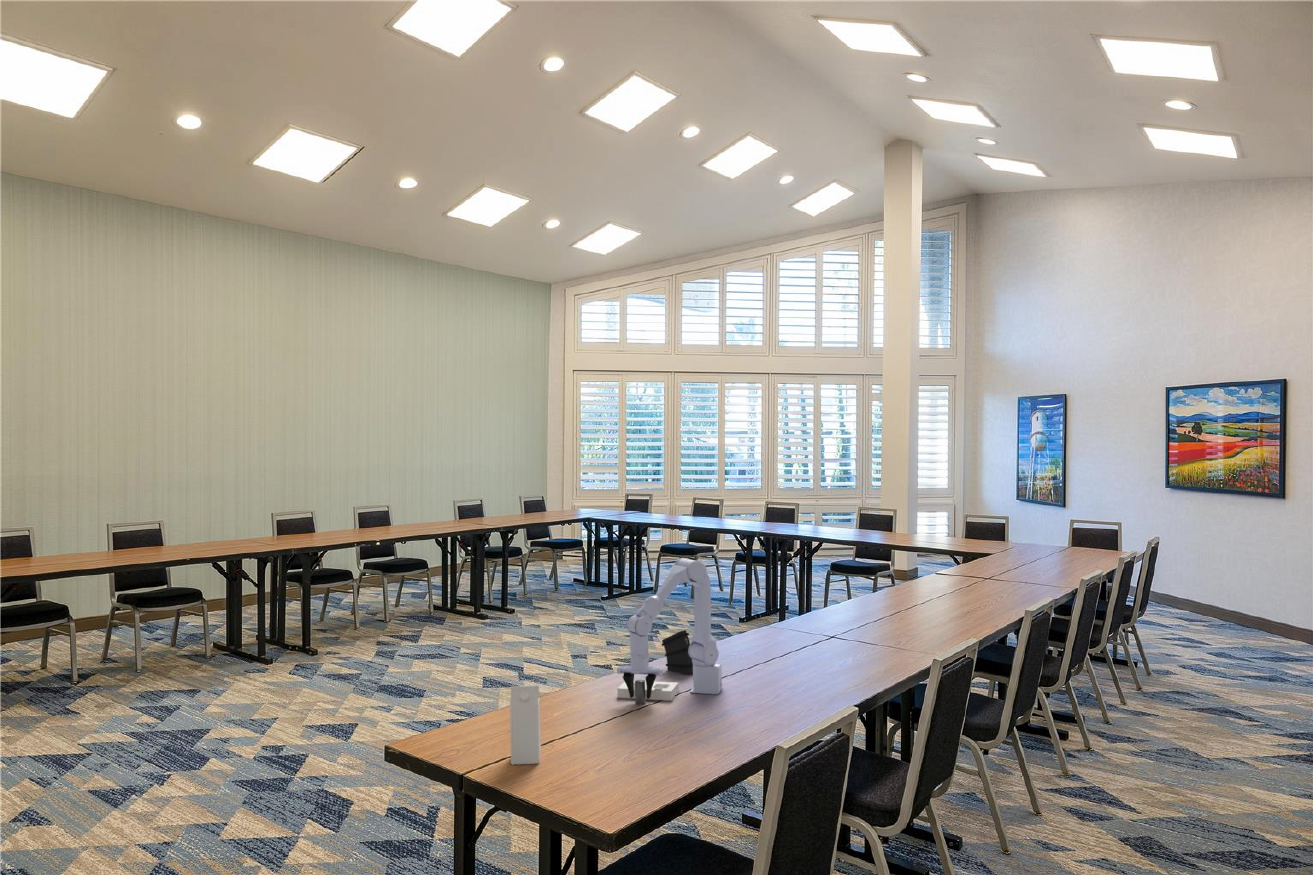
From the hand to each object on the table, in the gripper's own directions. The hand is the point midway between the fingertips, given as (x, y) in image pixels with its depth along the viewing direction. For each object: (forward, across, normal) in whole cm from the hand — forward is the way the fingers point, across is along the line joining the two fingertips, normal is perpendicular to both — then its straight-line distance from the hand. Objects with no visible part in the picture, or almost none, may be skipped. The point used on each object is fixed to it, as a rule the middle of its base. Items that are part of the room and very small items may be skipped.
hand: (640, 697), depth 264 cm
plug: (+2, 0, 0) cm, 2 cm away
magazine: (+2, +3, +40) cm, 40 cm away
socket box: (+2, 0, +10) cm, 10 cm away
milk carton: (+2, -16, -52) cm, 55 cm away
